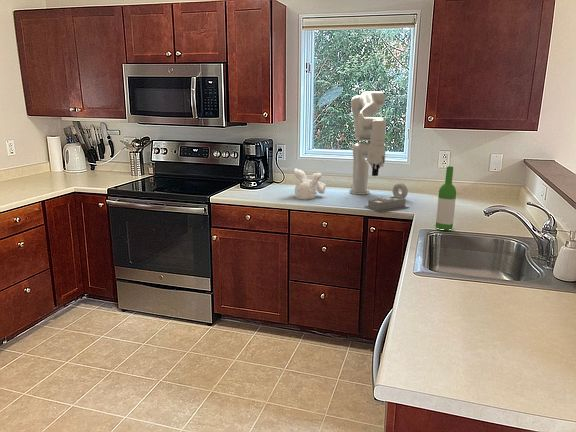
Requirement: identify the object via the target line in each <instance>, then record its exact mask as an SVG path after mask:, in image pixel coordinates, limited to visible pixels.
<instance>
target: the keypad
mask: <svg viewBox="0 0 576 432" xmlns="http://www.w3.org/2000/svg"><path fill="white" fill-rule="evenodd" d="M387 197H388V198H398V200H395V199H393V200H392V201H385V200H382V199H381V198H382V197H381V198H373V199H367V201H368V203H367V205H364V206H363V207H364V208H367V209H368V210H369V209H370V210H372V211H376V212H378V213H382V214H383V213H388V212H393V211H399V210H400V211H401V210H405V209H406V210H407V209H409V208H410V207H409V206H406V202H407V201H406V198H400V197H397V196H394V195H393V196H387ZM375 201H382V202H379V203H378V202H375Z"/></svg>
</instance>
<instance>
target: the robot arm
mask: <svg viewBox="0 0 576 432" xmlns="http://www.w3.org/2000/svg"><path fill="white" fill-rule="evenodd" d="M385 103H386V96H385V94H384V92H383V91H373V90H372V91H364V92H362V93H361V94H360V95H355V96H353V97H351V100H350V108H351V113H352V115H353V120H354V124H353V125H354V138H355V140H356V141H360V142H356V143H355V144H353V146H352V157H353V159H352V160H353V161H352V162H353V165H352V166H353V167H352V183H351V184H350V185H349V186H348V187H349V188H351V189H350V190H349V193H350V194H352V195H369V194H370V190H369V189H368V185H369V182H368V181H369V165H370V166H371V169H372V170H371V176H373V177H378V176H379V169H380V168H383V167H384V164H385V162H386V146H385V145H386V144H385V142H386V128H387V121H386V120H385V118H384V117H378V116H377V117H375V115H376V114H377V113H378V112H379V109H381V108H382V107H384V106H385ZM361 141H362V142H361ZM363 141H364V142H363Z"/></svg>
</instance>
